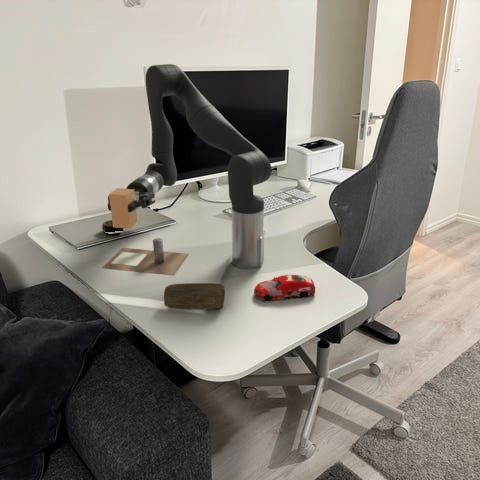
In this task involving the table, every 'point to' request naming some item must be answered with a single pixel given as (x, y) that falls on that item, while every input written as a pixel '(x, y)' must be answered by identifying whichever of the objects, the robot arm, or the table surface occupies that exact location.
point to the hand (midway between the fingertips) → (119, 208)
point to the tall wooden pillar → (122, 208)
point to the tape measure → (110, 227)
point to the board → (147, 260)
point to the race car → (285, 288)
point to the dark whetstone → (194, 296)
